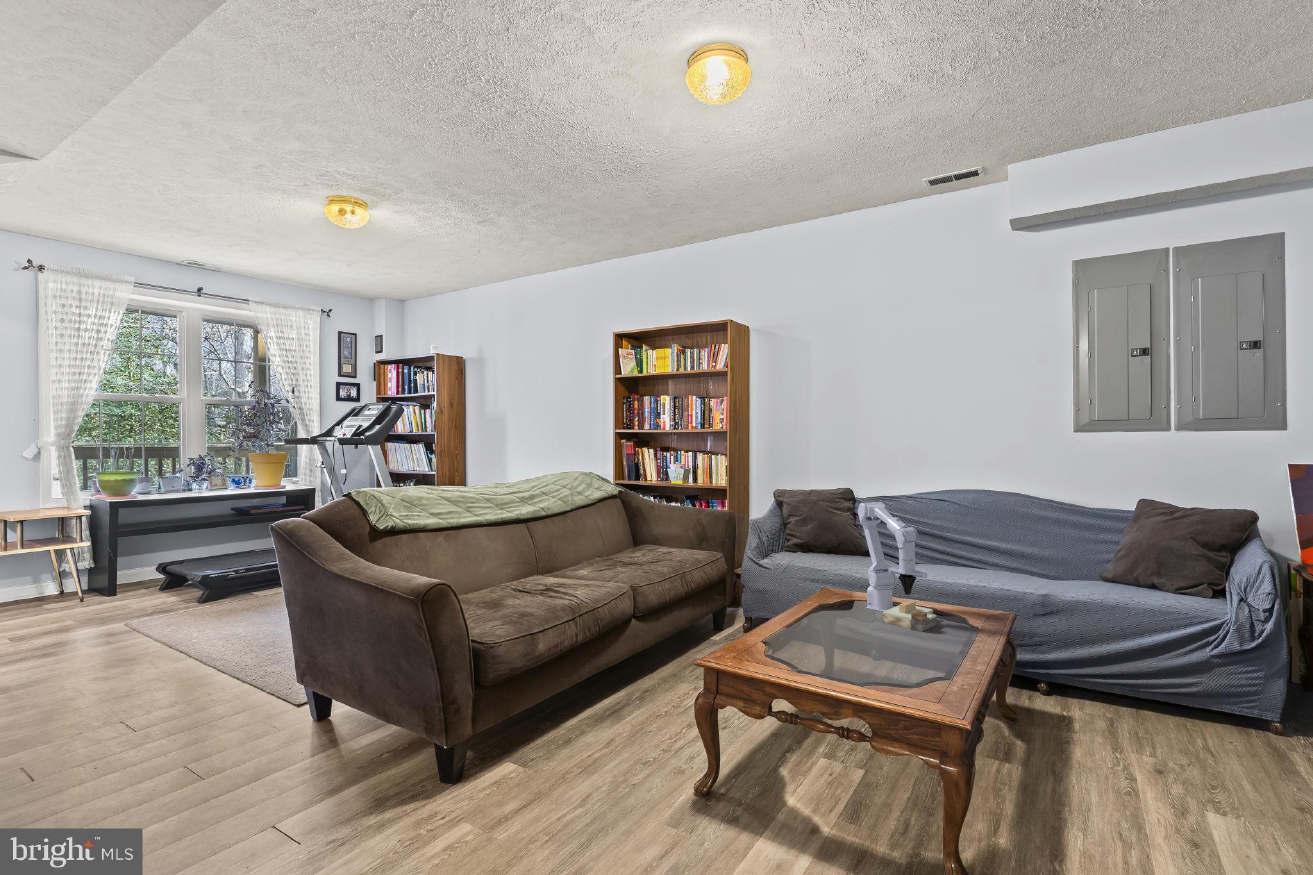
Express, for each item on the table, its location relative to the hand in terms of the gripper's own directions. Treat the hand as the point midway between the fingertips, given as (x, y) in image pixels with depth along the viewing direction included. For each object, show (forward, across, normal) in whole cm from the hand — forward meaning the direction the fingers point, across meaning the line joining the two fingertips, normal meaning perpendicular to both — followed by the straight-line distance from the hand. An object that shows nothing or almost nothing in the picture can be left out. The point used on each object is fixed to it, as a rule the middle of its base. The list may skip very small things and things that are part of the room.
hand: (907, 594), depth 241 cm
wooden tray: (+10, +2, 0) cm, 10 cm away
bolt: (+6, +8, -7) cm, 12 cm away
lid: (+8, +2, 0) cm, 8 cm away
